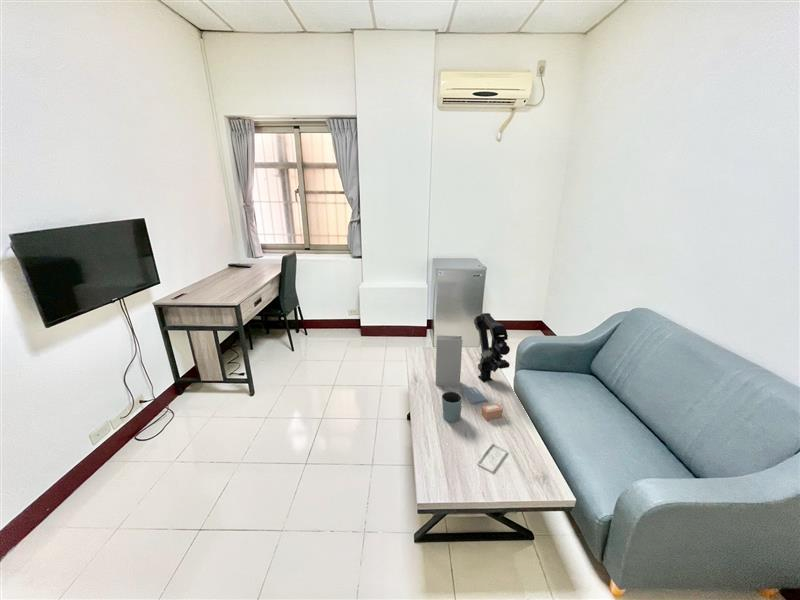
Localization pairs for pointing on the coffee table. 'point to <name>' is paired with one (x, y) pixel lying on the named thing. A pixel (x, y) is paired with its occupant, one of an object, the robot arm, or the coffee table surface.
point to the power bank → (498, 462)
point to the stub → (491, 411)
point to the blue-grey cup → (451, 406)
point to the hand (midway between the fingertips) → (494, 371)
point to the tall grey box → (448, 360)
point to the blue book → (474, 395)
